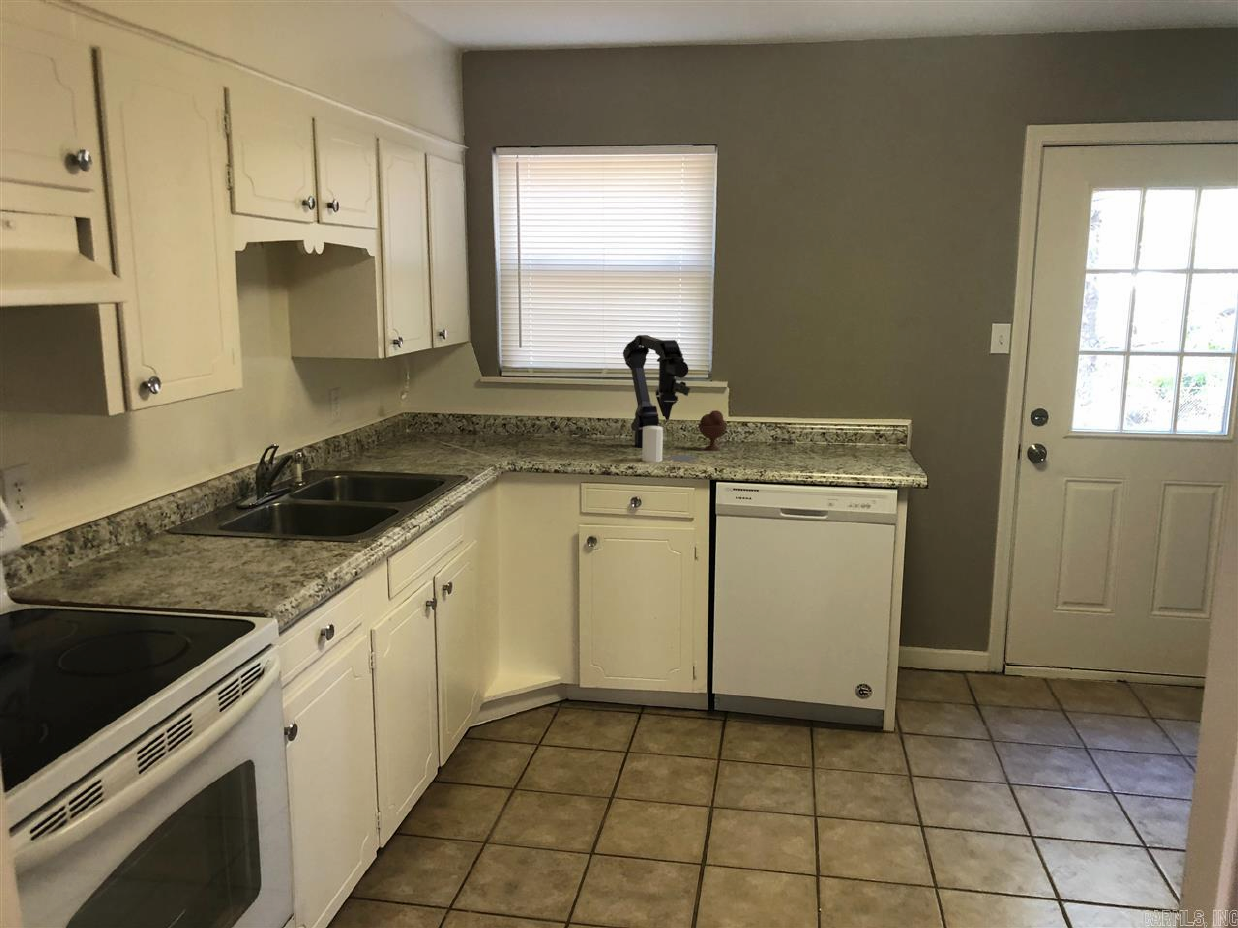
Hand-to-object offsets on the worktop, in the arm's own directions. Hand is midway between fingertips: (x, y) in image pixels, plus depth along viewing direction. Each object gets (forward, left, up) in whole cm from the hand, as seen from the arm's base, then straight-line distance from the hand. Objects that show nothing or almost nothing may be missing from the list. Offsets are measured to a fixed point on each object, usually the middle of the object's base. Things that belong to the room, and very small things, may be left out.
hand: (665, 418), depth 341 cm
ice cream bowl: (+10, +18, -13) cm, 24 cm away
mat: (+11, -7, -13) cm, 19 cm away
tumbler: (+4, -16, -13) cm, 21 cm away
